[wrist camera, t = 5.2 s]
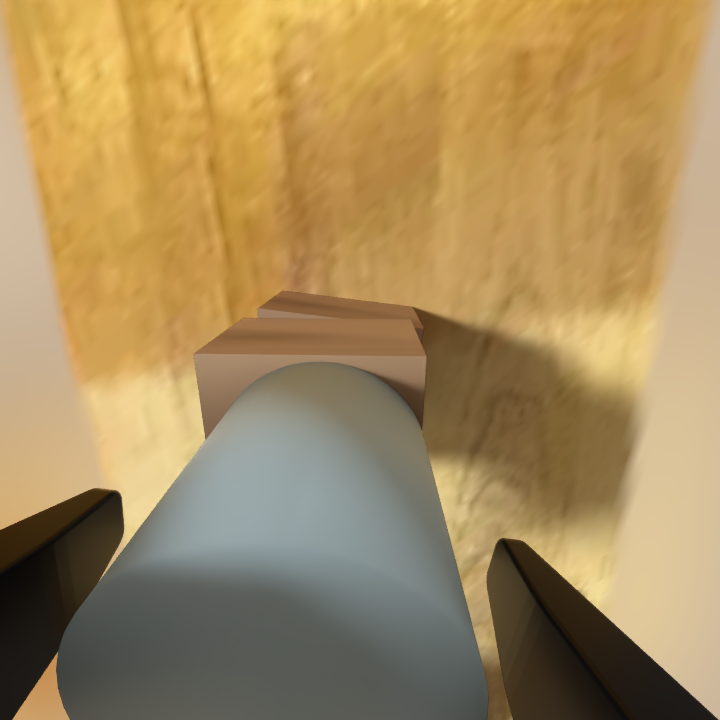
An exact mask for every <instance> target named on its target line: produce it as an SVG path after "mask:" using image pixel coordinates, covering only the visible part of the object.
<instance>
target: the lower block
mask: <svg viewBox="0 0 720 720" xmlns="http://www.w3.org/2000/svg"><path fill="white" fill-rule="evenodd" d="M258 318H321V319H411V322H412V324H413V326H414V328H415V331H416V333H417V335H418V338H419V340H420V342H421V344H422V338H423V333H424V328H423V326H422V324H421V322H420V320H419V318H418V316H417V314H416V313H415V311H414V309H413V307H410V306H402V305H393V304H385V303H377V302H369V301H361V300H353V299H345V298H337V297H329V296H321V295H313V294H305V293H297V292H289V291H281V292H280V293H279V294H277V295H276V296H274V297H273V298H272V299H270V300H269V301H268V302H266V303H265V304H263V305H262V306H261V307H259V308H258Z"/></svg>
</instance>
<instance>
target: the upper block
mask: <svg viewBox="0 0 720 720" xmlns="http://www.w3.org/2000/svg"><path fill="white" fill-rule="evenodd" d="M193 355H194V362H195V369H196V376H197V383H198V390H199V397H200V404H201V411H202V418H203V425H204V432H205V439H207V438H208V436H209V435H210V434H211V432H212V431H213V430H214V428H215V427H216V426H217V424H218V423H219V422H220V420H221V419H222V418H223V416H224V415H225V414H226V412H227V411H228V410H229V408H230V407H231V406H232V404H233V403H234V402H235V400H236V399H237V398H238V397H239V396H240V395H241V393H242V392H243V391H244V390H245V389H246V388H248V387H249V386H250V385H251V384H252V383H253V382H255V381H256V380H258V379H259V378H261V377H262V376H264V375H266V374H268V373H270V372H272V371H274V370H276V369H279V368H282V367H286V366H289V365H293V364H298V363H304V362H333V363H339V364H344V365H349V366H352V367H355V368H358V369H361V370H363V371H365V372H368V373H370V374H372V375H374V376H376V377H377V378H379V379H381V380H382V381H384V382H385V383H387V384H388V385H389V386H391V387H392V388H393V389H394V390H395V391H397V392H398V393H399V394H400V396H401V397H402V398H403V399H404V400H405V401H406V402H407V404H408V405H409V406H410V408H411V409H412V411H413V412H414V414H415V416H416V418H417V420H418V422H419V424H420V427H421V430H422V423H423V407H424V392H425V376H426V360H427V356H426V354H425V351H424V349H423V347H422V345H421V342H420V340H419V338H418V335H417V333H416V331H415V328H414V326H413V324H412V322H411V319H321V318H243V319H241V320H240V321H238V322H237V323H236V324H234V325H233V326H231V327H230V328H229V329H227V330H226V331H224V332H223V333H222V334H220V335H219V336H218V337H216V338H215V339H213V340H212V341H211V342H209V343H208V344H206V345H205V346H204V347H202V348H201V349H199V350H198V351H197V352H195V353H194V354H193Z"/></svg>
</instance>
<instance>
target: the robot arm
mask: <svg viewBox="0 0 720 720" xmlns="http://www.w3.org/2000/svg"><path fill="white" fill-rule="evenodd" d="M123 534H124V518H123V506H122V497H121V494H120V493H119V492H118V491H116V490H109V489H101V488H94V489H91V490H88V491H86V492H84V493H82V494H80V495H77V496H75V497H73V498H71V499H68V500H66V501H64V502H62V503H59V504H57V505H55V506H53V507H50V508H48V509H46V510H44V511H42V512H39V513H37V514H35V515H33V516H31V517H28V518H26V519H24V520H21V521H19V522H17V523H15V524H13V525H10V526H8V527H6V528H4V529H2V530H0V720H12V719H13V718H14V716H15V715H16V713H17V712H18V710H19V708H20V707H21V706H22V704H23V703H24V701H25V700H26V698H27V697H28V695H29V694H30V692H31V691H32V689H33V688H34V686H35V685H36V683H37V682H38V680H39V679H40V677H41V676H42V674H43V673H44V671H45V670H46V669H47V667H48V666H49V664H50V663H51V661H52V660H53V658H54V657H55V655H56V654H57V652H58V650H59V647H60V644H61V641H62V638H63V635H64V632H65V630H66V628H67V627H68V625H69V623H70V621H71V620H72V618H73V616H74V614H75V613H76V612H77V610H78V609H79V608H80V606H81V605H82V604H83V602H84V601H85V600H86V598H87V597H88V596H89V594H90V593H91V592H92V590H93V589H94V588H95V586H96V585H97V584H98V582H99V580H100V578H101V577H102V575H103V573H104V571H105V569H106V567H107V566H108V564H109V562H110V560H111V559H112V557H113V555H114V553H115V551H116V550H117V548H118V546H119V544H120V542H121V540H122V537H123ZM487 590H488V596H489V602H490V608H491V613H492V619H493V625H494V630H495V636H496V642H497V648H498V653H499V659H500V665H501V670H502V675H503V680H504V686H505V690H506V694H507V698H508V702H509V706H510V709H511V713H512V717H513V720H718V719H717V718H716V717H715V716H714V715H713V714H712V713H711V712H710V711H709V710H707V709H706V708H705V707H704V706H703V705H702V704H701V703H700V702H699V701H698V700H697V699H695V698H694V697H693V696H692V695H691V694H690V693H689V692H688V691H687V690H686V689H684V688H683V687H682V686H681V685H680V684H679V683H678V682H677V681H676V680H675V679H673V677H671V676H670V675H669V674H668V673H667V672H666V671H665V670H664V669H663V668H662V667H661V666H659V665H658V664H657V663H656V662H655V661H654V660H653V659H652V658H651V657H650V656H648V655H647V654H646V653H645V652H644V651H643V650H642V649H641V648H640V647H639V646H638V645H636V644H635V643H634V642H633V641H632V640H631V639H630V638H629V637H628V636H627V635H626V634H624V633H623V632H622V631H621V630H620V629H619V628H618V627H617V626H616V625H615V624H614V623H612V622H611V621H610V620H609V619H608V618H607V617H606V616H605V615H604V614H603V613H602V612H600V611H599V610H598V609H597V608H596V607H595V606H594V605H593V604H592V603H591V602H590V601H588V600H587V599H586V598H585V597H584V596H583V595H582V594H581V593H580V592H579V591H578V590H576V589H575V588H574V587H573V586H572V585H571V584H570V583H569V582H568V581H567V580H565V579H564V578H563V577H562V576H561V575H560V574H559V573H558V572H557V571H556V570H555V569H553V568H552V567H551V566H550V565H549V564H548V563H547V562H546V561H545V560H544V559H543V558H541V557H540V556H539V555H538V554H537V553H536V552H535V551H534V550H533V549H532V548H531V547H529V546H528V545H527V544H526V543H525V542H523V541H521V540H515V539H507V538H501V539H499V540H498V541H497V543H496V546H495V549H494V552H493V555H492V559H491V562H490V565H489V568H488V572H487Z"/></svg>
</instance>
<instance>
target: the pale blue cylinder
mask: <svg viewBox="0 0 720 720" xmlns="http://www.w3.org/2000/svg"><path fill="white" fill-rule="evenodd" d="M56 672H57V682H58V689H59V693H60V697H61V700H62V703H63V706H64V709H65V711H66V713H67V714H68V716H69V718H70V720H487V717H488V702H489V696H488V689H487V681H486V676H485V673H484V669H483V665H482V661H481V657H480V653H479V649H478V645H477V642H476V638H475V634H474V630H473V626H472V622H471V618H470V614H469V611H468V607H467V603H466V599H465V595H464V591H463V587H462V583H461V580H460V576H459V572H458V568H457V564H456V560H455V556H454V553H453V549H452V545H451V541H450V537H449V533H448V529H447V525H446V522H445V518H444V514H443V510H442V506H441V502H440V498H439V494H438V491H437V487H436V483H435V479H434V475H433V471H432V467H431V463H430V460H429V456H428V452H427V448H426V444H425V440H424V436H423V433H422V430H421V427H420V424H419V422H418V420H417V418H416V416H415V414H414V412H413V411H412V409H411V408H410V406H409V405H408V404H407V402H406V401H405V400H404V399H403V398H402V397H401V396H400V394H399V393H398V392H397V391H395V390H394V389H393V388H392V387H391V386H389V385H388V384H387V383H385V382H384V381H382V380H381V379H379V378H377V377H376V376H374V375H372V374H370V373H368V372H365V371H363V370H361V369H358V368H355V367H352V366H349V365H344V364H339V363H333V362H304V363H298V364H293V365H289V366H286V367H282V368H279V369H276V370H274V371H272V372H270V373H268V374H266V375H264V376H262V377H261V378H259V379H258V380H256V381H255V382H253V383H252V384H251V385H250V386H249V387H248V388H246V389H245V390H244V391H243V392H242V393H241V395H240V396H239V397H238V398H237V399H236V400H235V402H234V403H233V404H232V406H231V407H230V408H229V410H228V411H227V412H226V414H225V415H224V416H223V418H222V419H221V420H220V422H219V423H218V424H217V426H216V427H215V428H214V430H213V431H212V432H211V434H210V435H209V436H208V438H207V439H206V440H205V442H204V443H203V444H202V446H201V447H200V448H199V450H198V451H197V452H196V454H195V455H194V456H193V458H192V459H191V460H190V462H189V463H188V464H187V466H186V467H185V468H184V470H183V471H182V472H181V473H180V475H179V476H178V477H177V479H176V480H175V481H174V483H173V484H172V485H171V487H170V488H169V489H168V491H167V492H166V493H165V495H164V496H163V497H162V499H161V500H160V501H159V503H158V504H157V505H156V507H155V508H154V509H153V511H152V512H151V513H150V515H149V516H148V517H147V519H146V520H145V521H144V523H143V524H142V525H141V527H140V528H139V529H138V531H137V532H136V533H135V535H134V536H133V537H132V539H131V540H130V541H129V543H128V544H127V545H126V547H125V548H124V549H123V551H122V552H121V553H120V555H119V556H118V557H117V559H116V560H115V561H114V563H113V564H112V565H111V566H110V568H109V569H108V571H107V572H106V573H105V574H104V576H103V577H102V579H101V580H100V581H99V582H98V584H97V585H96V586H95V588H94V589H93V590H92V592H91V593H90V594H89V596H88V597H87V598H86V600H85V601H84V602H83V604H82V605H81V606H80V608H79V609H78V610H77V612H76V613H75V614H74V616H73V618H72V620H71V621H70V623H69V625H68V627H67V628H66V630H65V632H64V635H63V638H62V641H61V644H60V647H59V650H58V658H57V667H56Z"/></svg>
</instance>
